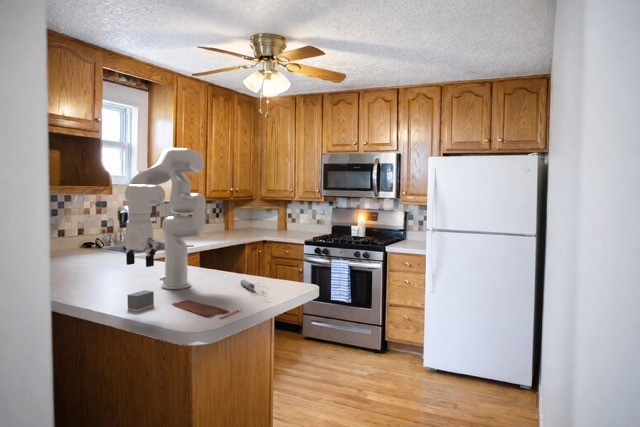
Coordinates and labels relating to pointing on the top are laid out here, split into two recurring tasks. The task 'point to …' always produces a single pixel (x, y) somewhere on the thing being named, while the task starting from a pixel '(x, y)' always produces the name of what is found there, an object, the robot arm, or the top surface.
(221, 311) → the wooden tablet
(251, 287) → the kitchen whisk
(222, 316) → the carpenter pencil
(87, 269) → the top surface
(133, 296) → the sanding block
